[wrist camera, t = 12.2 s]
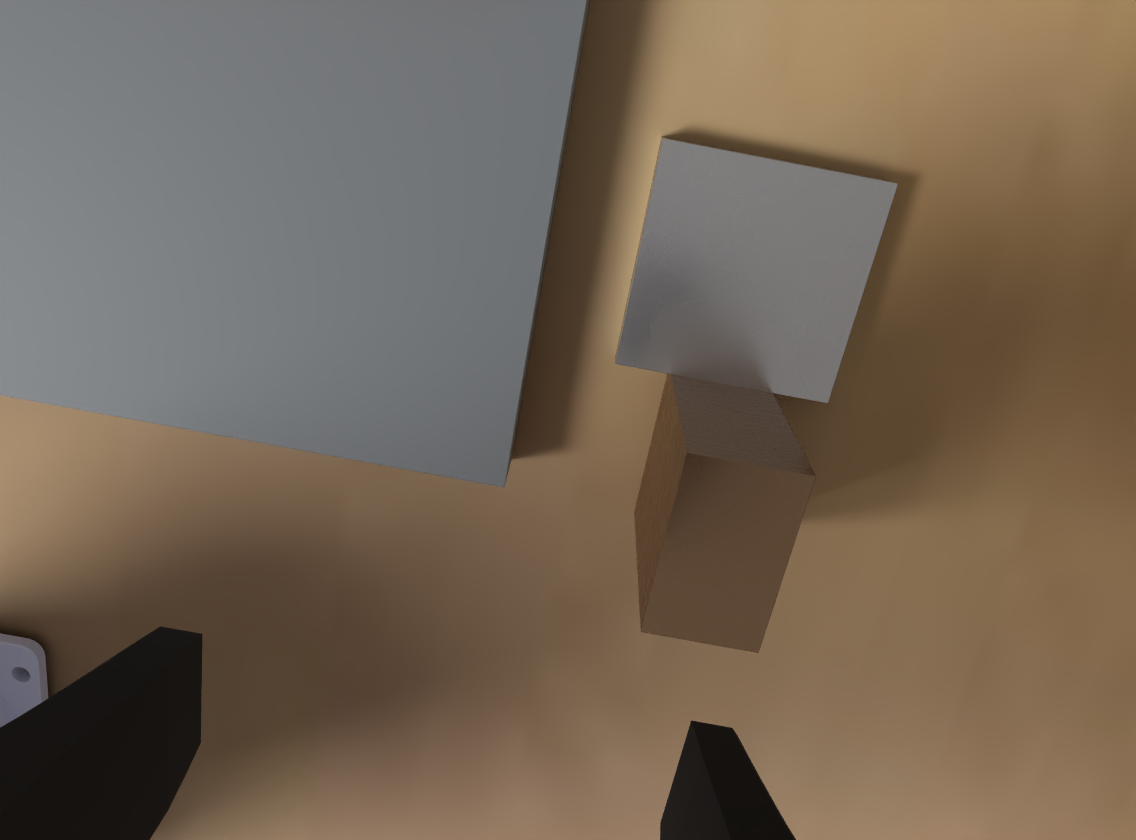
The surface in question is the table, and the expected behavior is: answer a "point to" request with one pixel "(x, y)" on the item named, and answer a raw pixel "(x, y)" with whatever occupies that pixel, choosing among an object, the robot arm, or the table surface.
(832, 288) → the turner
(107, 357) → the board
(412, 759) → the table surface
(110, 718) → the robot arm
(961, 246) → the table surface
